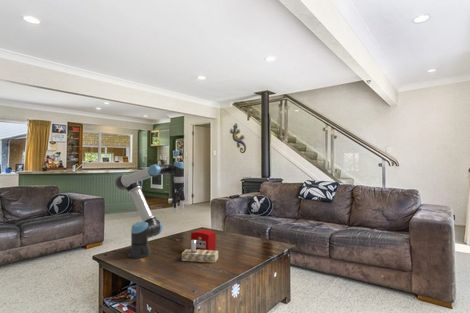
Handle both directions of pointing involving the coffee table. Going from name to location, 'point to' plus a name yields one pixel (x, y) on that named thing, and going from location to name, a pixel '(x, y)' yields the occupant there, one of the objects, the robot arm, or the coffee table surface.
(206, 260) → the bore block
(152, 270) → the coffee table surface
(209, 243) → the fire alarm
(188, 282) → the coffee table surface
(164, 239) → the coffee table surface
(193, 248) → the pin
